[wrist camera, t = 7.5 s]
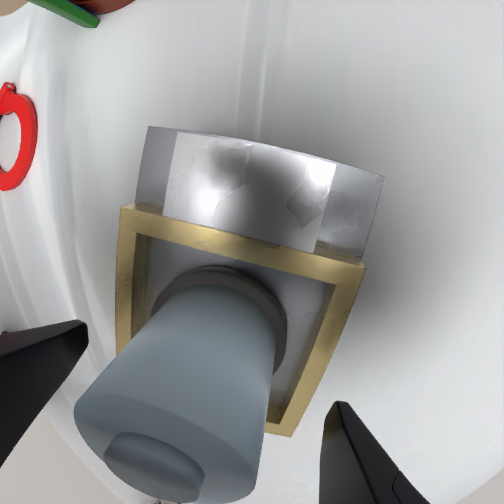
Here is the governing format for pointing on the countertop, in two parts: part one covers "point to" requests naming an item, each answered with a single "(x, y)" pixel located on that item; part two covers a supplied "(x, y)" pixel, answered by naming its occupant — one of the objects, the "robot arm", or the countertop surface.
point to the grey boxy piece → (250, 242)
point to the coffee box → (165, 502)
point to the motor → (66, 3)
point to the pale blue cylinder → (190, 390)
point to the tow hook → (10, 102)
